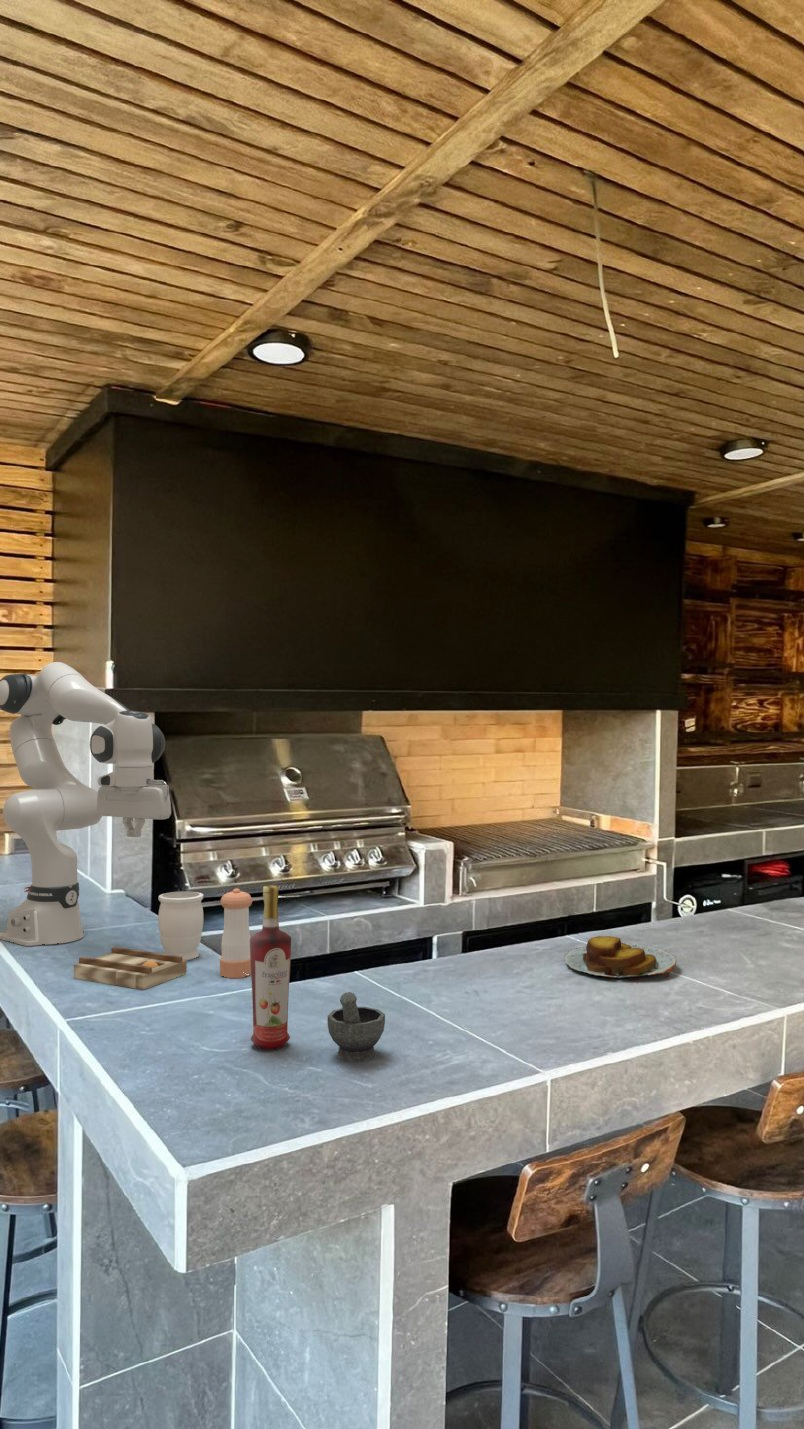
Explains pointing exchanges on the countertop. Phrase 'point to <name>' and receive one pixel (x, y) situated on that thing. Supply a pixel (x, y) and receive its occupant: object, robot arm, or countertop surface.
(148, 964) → the ball
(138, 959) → the lane board
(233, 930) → the pepper shaker
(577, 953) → the food on plate
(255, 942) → the liquor
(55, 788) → the robot arm
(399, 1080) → the countertop surface
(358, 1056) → the mortar and pestle
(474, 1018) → the countertop surface
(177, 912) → the jar
